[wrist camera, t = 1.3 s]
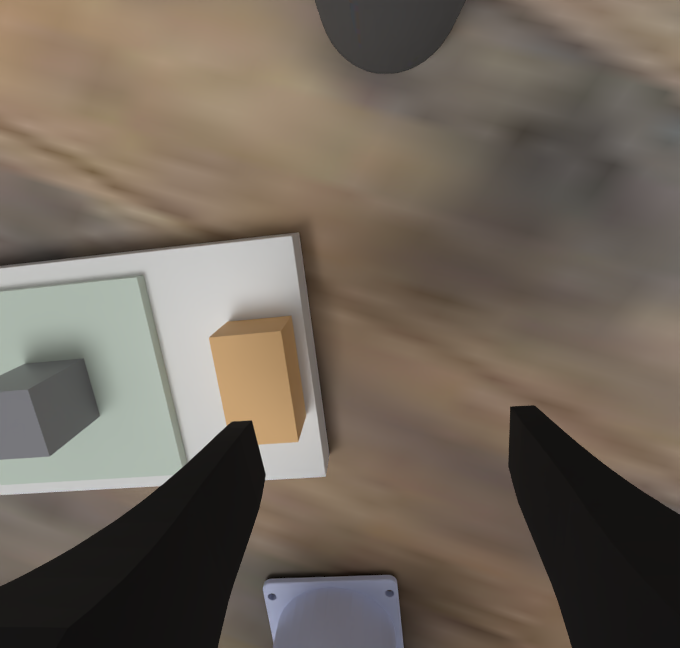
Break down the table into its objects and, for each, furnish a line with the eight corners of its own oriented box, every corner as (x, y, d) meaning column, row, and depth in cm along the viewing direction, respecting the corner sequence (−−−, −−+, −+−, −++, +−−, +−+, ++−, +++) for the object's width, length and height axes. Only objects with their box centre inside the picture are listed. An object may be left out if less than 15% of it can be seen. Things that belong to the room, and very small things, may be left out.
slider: (291, 315, 20) (280, 331, 18) (306, 415, 21) (298, 442, 19) (227, 321, 20) (208, 337, 18) (245, 419, 22) (230, 446, 19)
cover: (188, 467, 23) (149, 524, 19) (10, 478, 24) (-63, 534, 20) (143, 275, 20) (87, 294, 16) (-56, 296, 21) (-155, 319, 17)
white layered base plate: (299, 232, 21) (291, 235, 19) (329, 454, 24) (325, 476, 22) (-44, 270, 23) (-83, 277, 21) (26, 472, 26) (-2, 495, 24)
